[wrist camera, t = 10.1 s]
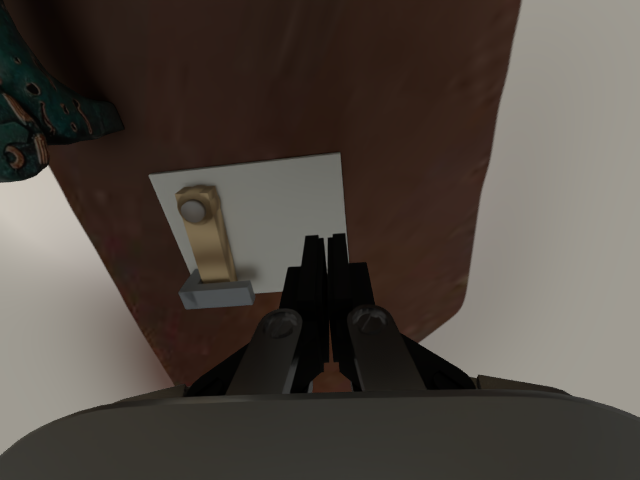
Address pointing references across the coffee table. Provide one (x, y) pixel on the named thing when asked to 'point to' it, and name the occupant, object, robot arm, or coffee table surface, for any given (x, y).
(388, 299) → the coffee table surface
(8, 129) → the ceramic cat
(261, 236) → the mounting board
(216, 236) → the tan bar
